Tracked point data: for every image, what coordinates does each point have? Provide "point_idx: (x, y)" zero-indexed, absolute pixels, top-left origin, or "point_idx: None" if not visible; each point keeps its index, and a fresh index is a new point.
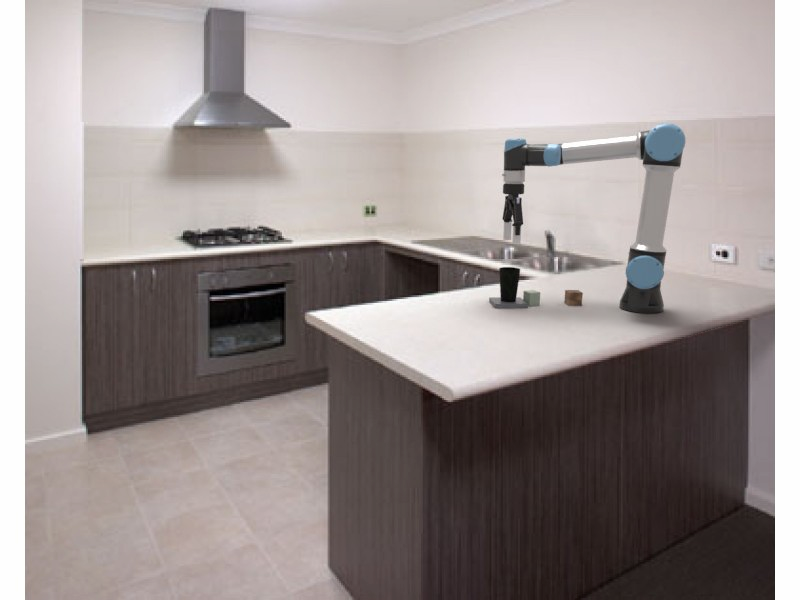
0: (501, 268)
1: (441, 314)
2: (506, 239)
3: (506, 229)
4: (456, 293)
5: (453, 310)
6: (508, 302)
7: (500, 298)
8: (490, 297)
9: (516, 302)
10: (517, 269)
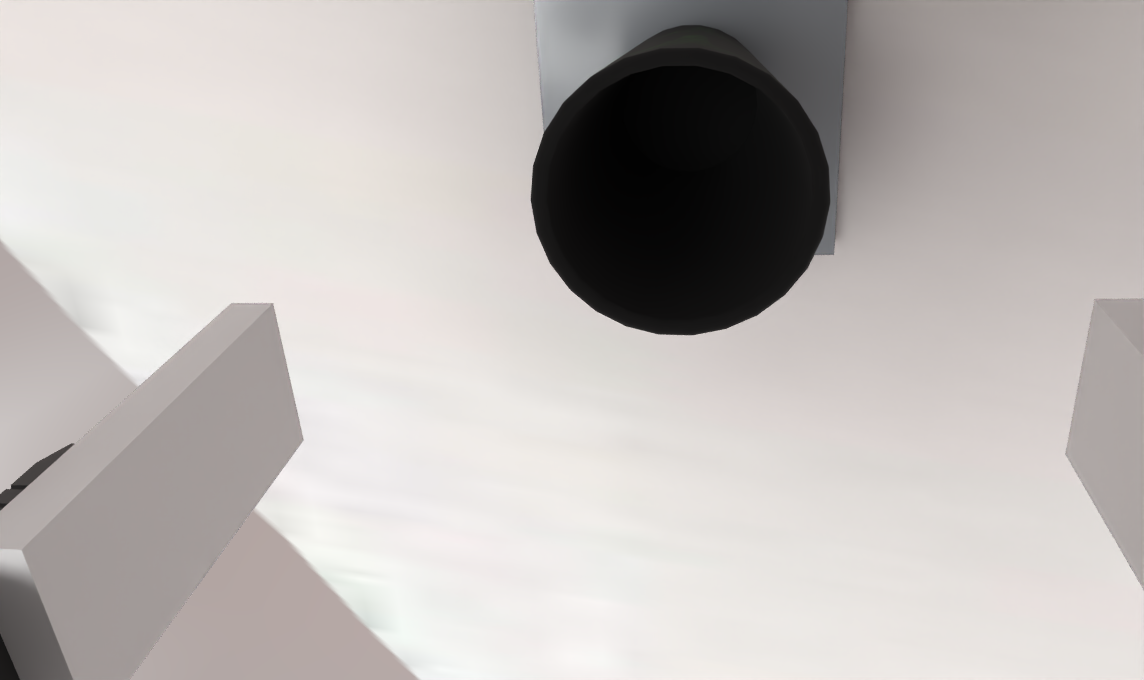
0: (596, 291)
1: (991, 649)
2: (290, 396)
3: (184, 537)
4: None
5: (874, 559)
6: None
7: None
8: None
9: (785, 35)
10: (629, 73)
